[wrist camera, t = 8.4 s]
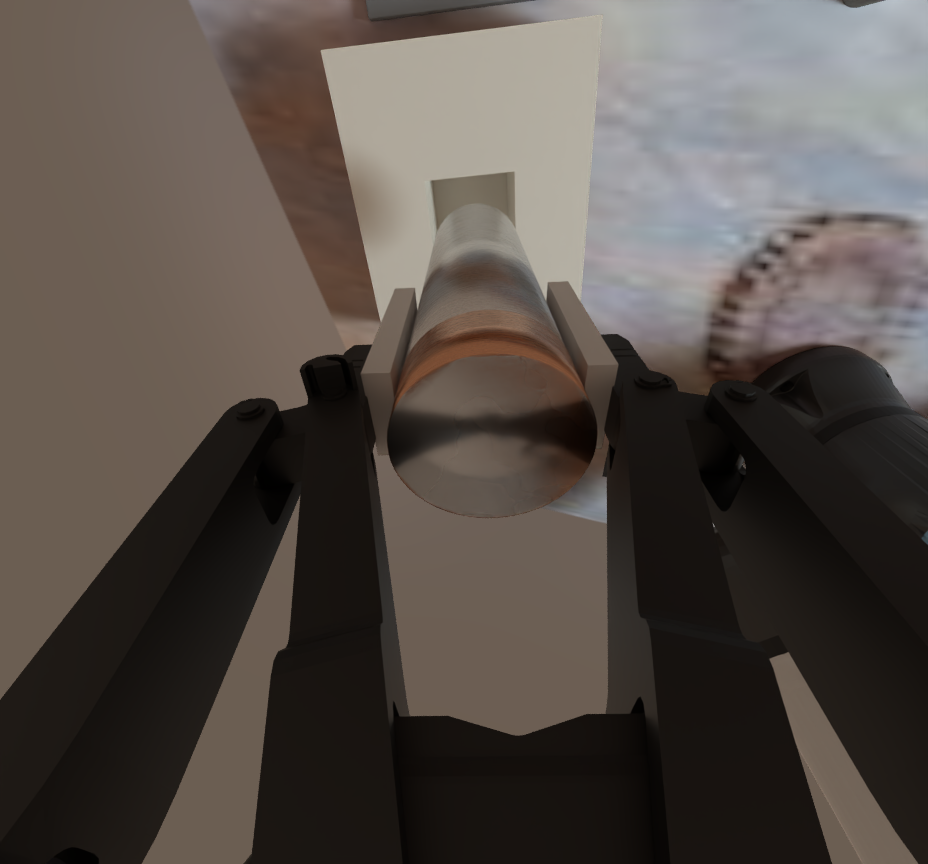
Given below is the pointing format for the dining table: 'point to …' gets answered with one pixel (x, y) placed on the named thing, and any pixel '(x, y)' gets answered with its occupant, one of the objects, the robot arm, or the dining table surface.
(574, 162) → the bore block
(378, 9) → the slate mat
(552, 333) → the steel plug
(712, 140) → the dining table surface
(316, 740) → the robot arm
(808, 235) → the dining table surface
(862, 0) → the hip flask
